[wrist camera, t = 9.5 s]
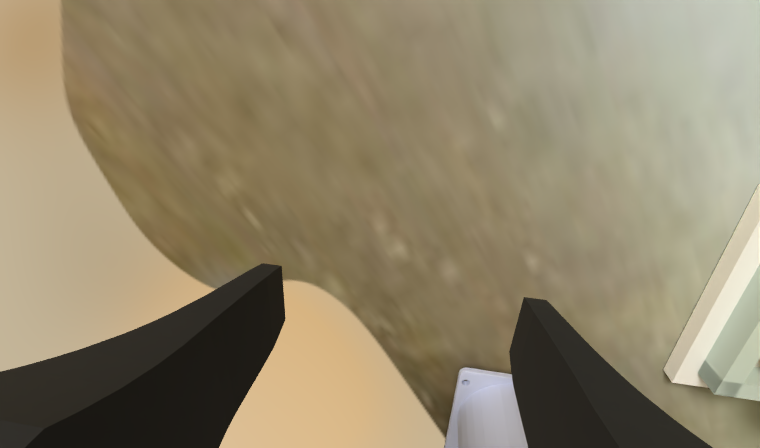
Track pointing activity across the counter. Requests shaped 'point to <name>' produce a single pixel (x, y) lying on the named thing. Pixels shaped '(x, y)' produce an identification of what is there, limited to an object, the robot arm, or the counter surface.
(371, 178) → the counter surface
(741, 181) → the counter surface
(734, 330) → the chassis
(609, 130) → the counter surface
